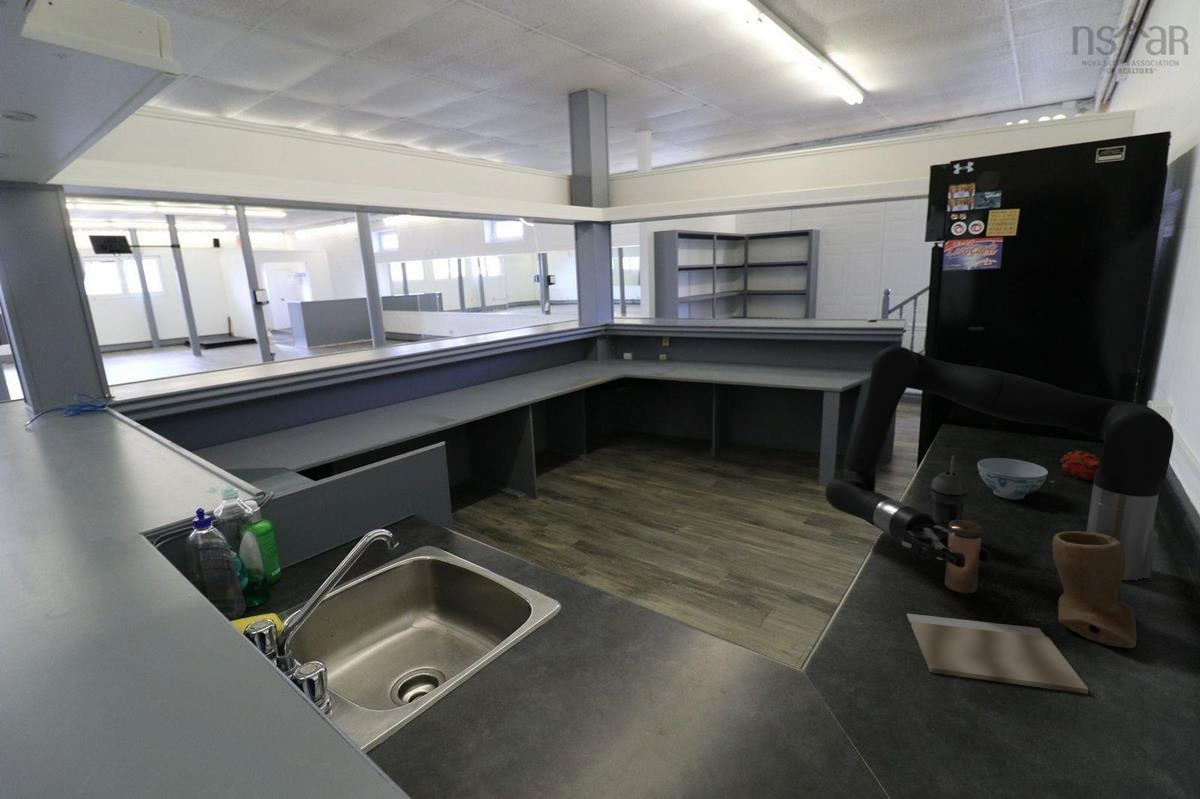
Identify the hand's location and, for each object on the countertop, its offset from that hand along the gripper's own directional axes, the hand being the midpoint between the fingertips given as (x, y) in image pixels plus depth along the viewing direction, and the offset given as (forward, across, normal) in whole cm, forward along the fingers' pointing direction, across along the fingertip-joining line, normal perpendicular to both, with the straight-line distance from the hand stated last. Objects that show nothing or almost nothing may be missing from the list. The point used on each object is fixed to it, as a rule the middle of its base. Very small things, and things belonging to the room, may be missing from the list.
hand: (975, 559), depth 99 cm
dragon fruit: (-38, +81, +10) cm, 90 cm away
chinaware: (-36, +52, +10) cm, 65 cm away
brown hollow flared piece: (+10, +14, +10) cm, 19 cm away
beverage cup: (-23, +17, +9) cm, 30 cm away
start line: (+5, -5, +9) cm, 11 cm away
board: (+12, -9, +9) cm, 17 cm away
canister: (-3, 0, +6) cm, 7 cm away
